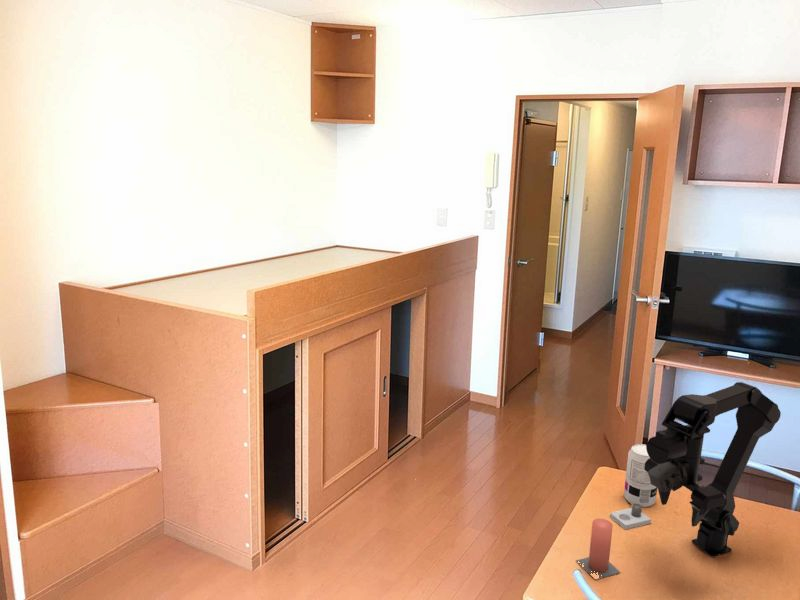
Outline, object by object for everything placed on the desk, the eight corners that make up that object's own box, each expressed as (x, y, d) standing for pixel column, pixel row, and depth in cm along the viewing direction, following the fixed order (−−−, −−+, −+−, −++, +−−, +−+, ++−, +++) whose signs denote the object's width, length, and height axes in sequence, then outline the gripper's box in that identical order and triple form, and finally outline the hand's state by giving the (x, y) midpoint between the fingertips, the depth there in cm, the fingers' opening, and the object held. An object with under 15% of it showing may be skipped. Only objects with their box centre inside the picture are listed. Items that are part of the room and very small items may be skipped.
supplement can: (617, 494, 179) (622, 445, 175) (642, 490, 181) (648, 441, 178) (636, 510, 171) (641, 459, 168) (661, 505, 174) (668, 455, 170)
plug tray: (634, 511, 171) (636, 498, 170) (650, 523, 166) (652, 510, 165) (609, 516, 168) (611, 504, 167) (625, 529, 163) (626, 516, 162)
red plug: (600, 558, 151) (604, 516, 148) (612, 570, 147) (616, 527, 144) (584, 562, 149) (588, 520, 147) (596, 574, 145) (600, 531, 143)
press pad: (600, 555, 153) (600, 554, 153) (620, 573, 146) (620, 572, 146) (575, 561, 150) (576, 560, 150) (594, 580, 144) (594, 579, 144)
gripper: (629, 439, 148) (622, 500, 152) (690, 479, 131) (681, 546, 135) (667, 432, 152) (659, 491, 156) (732, 470, 135) (721, 535, 139)
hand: (678, 514), depth 146 cm, fingers open, 9 cm apart
